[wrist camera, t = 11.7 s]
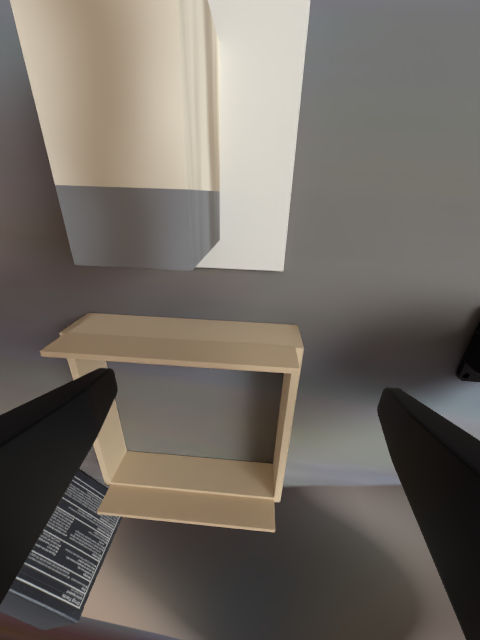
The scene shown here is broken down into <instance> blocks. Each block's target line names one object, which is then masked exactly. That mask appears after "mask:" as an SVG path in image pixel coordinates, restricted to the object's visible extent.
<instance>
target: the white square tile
mask: <svg viewBox="0 0 480 640" xmlns="http://www.w3.org/2000/svg"><path fill="white" fill-rule="evenodd" d="M208 3H209V7H210V10H211V14H212V18H213V21H214V25H215V28H216V32H217V35H218V39H219V128H220V241H219V242H218V243H217V244H216V245H215V246H214V247H213V248H212V249H211V250H210V251H209V253H208V254H207V255H206V256H205V257H204V258H203V259H202V260H201V261H200V262H199V263H198V265H197V266H196V267H204V268H225V269H247V270H268V271H283V268H284V258H285V248H286V238H287V228H288V218H289V209H290V199H291V189H292V179H293V169H294V159H295V149H296V139H297V129H298V119H299V109H300V99H301V89H302V79H303V69H304V59H305V49H306V39H307V29H308V19H309V9H310V0H208Z"/></svg>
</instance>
